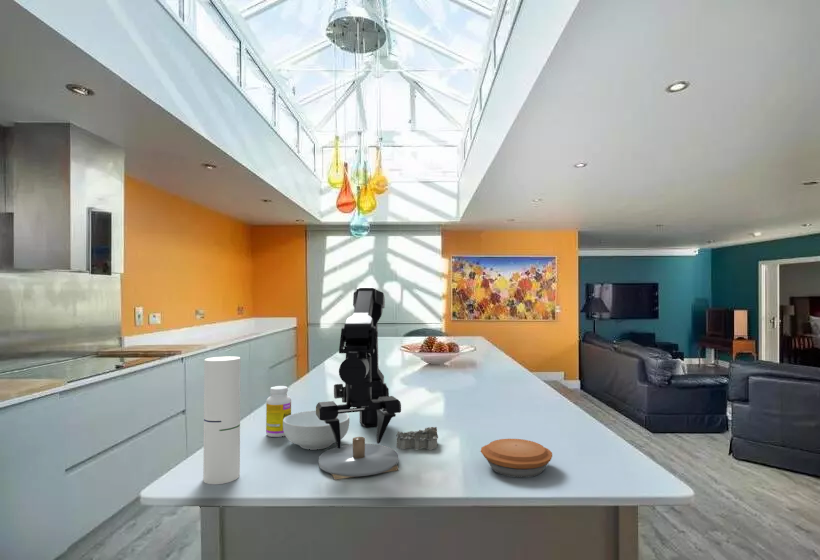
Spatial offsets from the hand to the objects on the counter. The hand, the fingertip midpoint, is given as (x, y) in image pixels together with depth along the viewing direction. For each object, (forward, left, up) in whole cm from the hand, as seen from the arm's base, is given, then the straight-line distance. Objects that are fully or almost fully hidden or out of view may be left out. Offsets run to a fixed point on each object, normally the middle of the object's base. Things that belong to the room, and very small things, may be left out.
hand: (358, 445), depth 105 cm
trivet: (0, 0, -4) cm, 4 cm away
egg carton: (-17, -7, -5) cm, 19 cm away
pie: (-32, +15, -4) cm, 36 cm away
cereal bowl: (+7, -17, -4) cm, 19 cm away
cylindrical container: (+29, -3, -4) cm, 29 cm away
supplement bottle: (+15, -30, -4) cm, 34 cm away
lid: (0, 0, -4) cm, 4 cm away
